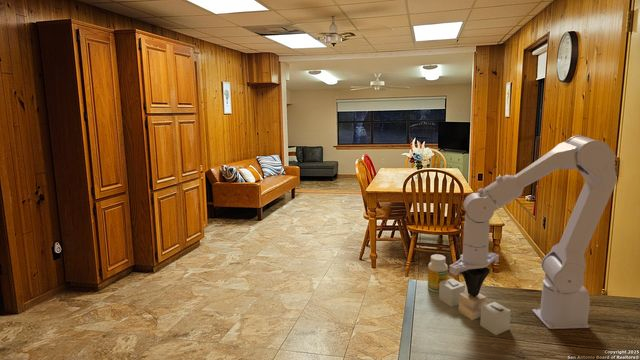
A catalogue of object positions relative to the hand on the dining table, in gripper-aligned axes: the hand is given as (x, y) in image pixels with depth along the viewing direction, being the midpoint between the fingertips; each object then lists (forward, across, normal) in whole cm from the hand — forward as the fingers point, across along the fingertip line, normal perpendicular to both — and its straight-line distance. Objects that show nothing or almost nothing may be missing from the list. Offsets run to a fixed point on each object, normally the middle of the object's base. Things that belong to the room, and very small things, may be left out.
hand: (472, 294), depth 101 cm
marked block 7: (+5, 0, -7) cm, 9 cm away
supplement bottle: (+5, -1, -14) cm, 15 cm away
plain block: (+5, 0, 0) cm, 5 cm away
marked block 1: (+5, 0, +7) cm, 9 cm away
